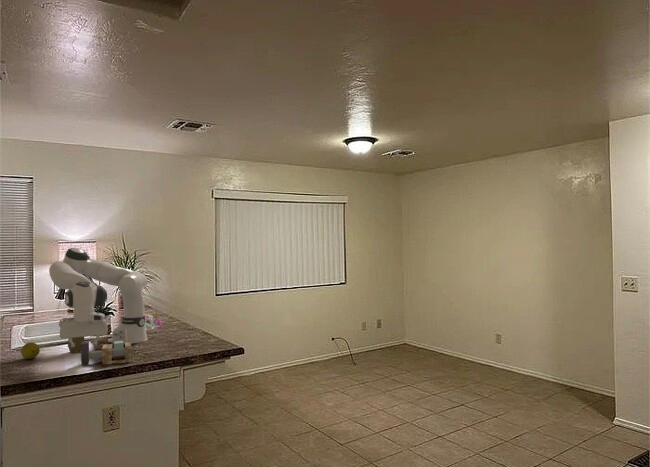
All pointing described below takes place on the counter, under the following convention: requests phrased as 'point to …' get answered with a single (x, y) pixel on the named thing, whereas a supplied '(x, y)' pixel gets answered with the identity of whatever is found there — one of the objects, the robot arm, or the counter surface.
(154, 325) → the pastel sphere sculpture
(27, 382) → the counter surface
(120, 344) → the spacer
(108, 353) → the bearing block
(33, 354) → the lemon
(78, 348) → the squeeze bottle
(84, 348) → the grey mallet
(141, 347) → the counter surface
